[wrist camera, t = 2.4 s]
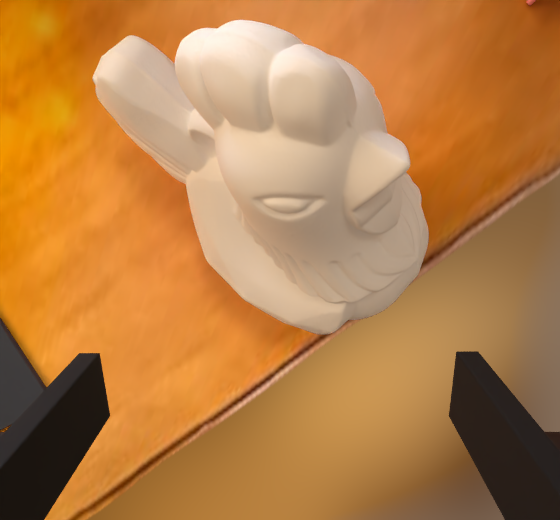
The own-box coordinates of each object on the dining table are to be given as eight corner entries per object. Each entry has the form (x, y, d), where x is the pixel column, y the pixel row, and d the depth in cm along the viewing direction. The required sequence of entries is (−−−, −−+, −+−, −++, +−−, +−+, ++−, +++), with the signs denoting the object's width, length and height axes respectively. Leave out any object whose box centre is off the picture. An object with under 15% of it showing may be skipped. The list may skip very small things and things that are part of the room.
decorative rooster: (468, 250, 35) (546, -79, 13) (339, 392, 33) (190, 278, 12) (272, 123, 47) (147, -156, 26) (170, 223, 46) (-55, 15, 24)
